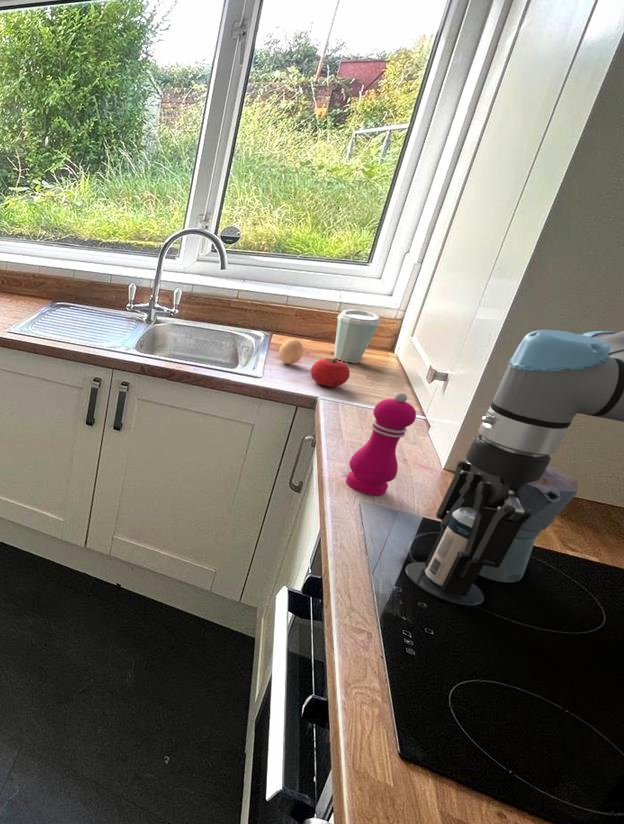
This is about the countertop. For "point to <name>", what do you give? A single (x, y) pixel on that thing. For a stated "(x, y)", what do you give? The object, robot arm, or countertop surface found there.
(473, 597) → the slate coaster
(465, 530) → the beer can
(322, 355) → the countertop surface
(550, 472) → the moka pot
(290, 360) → the egg
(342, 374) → the tomato
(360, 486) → the pepper mill
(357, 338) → the disposable coffee cup
